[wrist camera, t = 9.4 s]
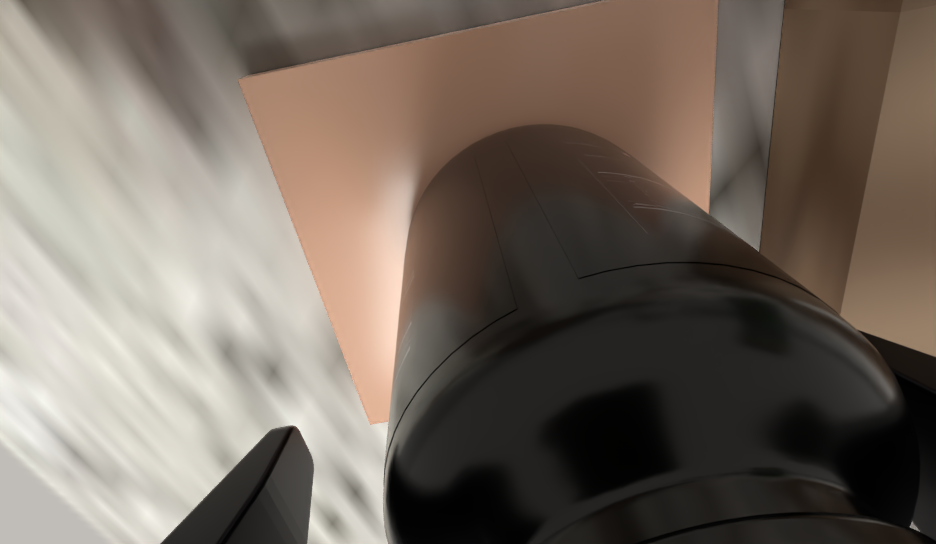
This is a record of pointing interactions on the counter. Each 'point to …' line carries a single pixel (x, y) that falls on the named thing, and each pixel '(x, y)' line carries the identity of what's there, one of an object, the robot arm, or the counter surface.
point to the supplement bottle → (624, 370)
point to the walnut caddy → (858, 163)
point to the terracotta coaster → (468, 136)
